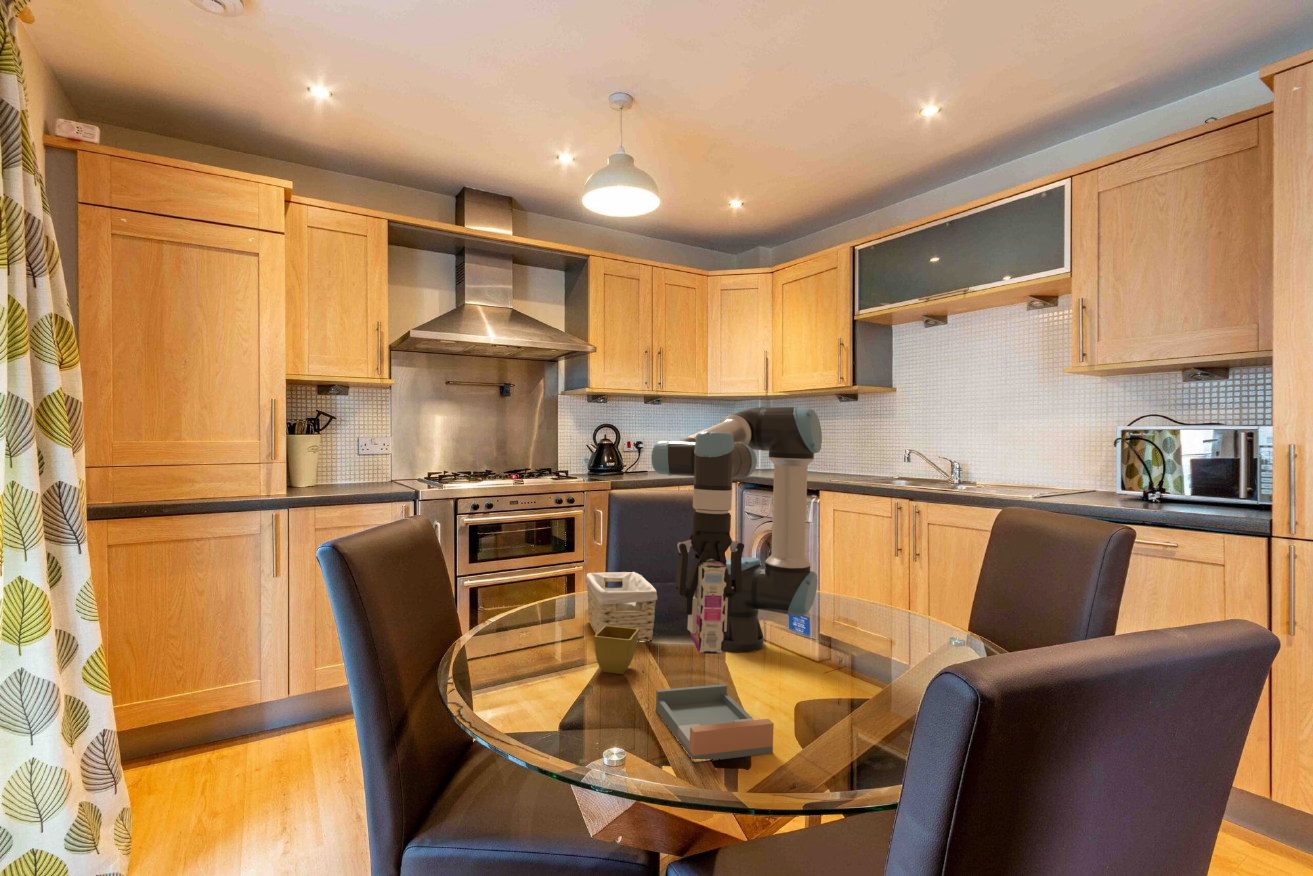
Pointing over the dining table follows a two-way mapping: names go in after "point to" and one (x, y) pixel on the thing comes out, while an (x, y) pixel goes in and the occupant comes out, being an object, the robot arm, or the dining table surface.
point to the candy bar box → (710, 607)
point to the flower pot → (615, 648)
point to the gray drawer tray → (713, 723)
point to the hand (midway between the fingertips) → (706, 630)
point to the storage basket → (621, 602)
